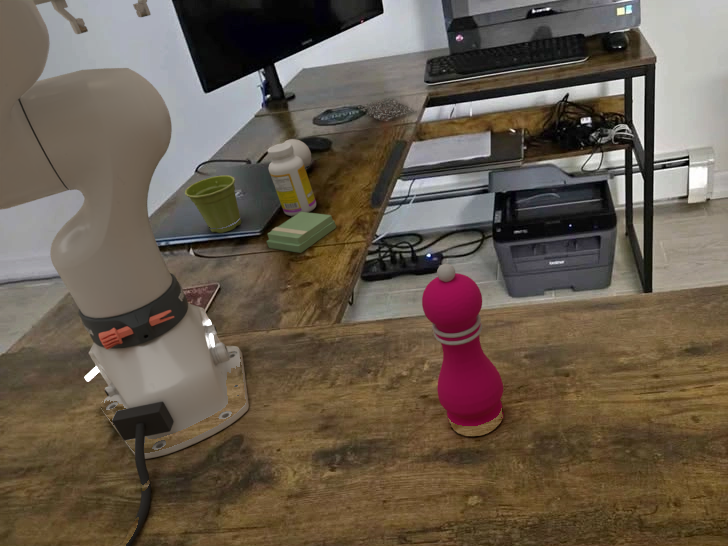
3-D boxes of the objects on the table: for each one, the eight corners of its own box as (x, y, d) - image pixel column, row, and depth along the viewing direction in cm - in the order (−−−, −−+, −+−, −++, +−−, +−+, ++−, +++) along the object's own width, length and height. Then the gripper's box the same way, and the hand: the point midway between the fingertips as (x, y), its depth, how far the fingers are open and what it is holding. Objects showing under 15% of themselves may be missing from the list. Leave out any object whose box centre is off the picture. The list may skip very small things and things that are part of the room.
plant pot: (252, 228, 131) (236, 185, 125) (203, 242, 129) (185, 200, 123) (247, 211, 138) (232, 171, 133) (201, 225, 136) (183, 184, 131)
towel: (301, 253, 118) (296, 239, 117) (268, 248, 122) (263, 234, 121) (336, 227, 125) (332, 214, 123) (305, 223, 129) (300, 210, 127)
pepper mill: (437, 411, 78) (399, 260, 67) (494, 390, 80) (466, 239, 68) (457, 450, 73) (419, 292, 61) (518, 426, 74) (493, 269, 62)
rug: (389, 99, 190) (388, 95, 190) (416, 112, 176) (415, 109, 175) (356, 108, 187) (355, 105, 187) (382, 123, 173) (381, 119, 172)
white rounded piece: (321, 169, 152) (312, 137, 147) (292, 181, 149) (281, 148, 144) (301, 161, 159) (291, 130, 154) (273, 172, 155) (262, 140, 151)
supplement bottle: (310, 199, 138) (290, 138, 130) (322, 208, 133) (302, 145, 126) (279, 211, 136) (257, 148, 128) (290, 220, 131) (268, 156, 123)
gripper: (-12, -73, 84) (46, 45, 93) (145, -101, 94) (185, 8, 102) (-22, -71, 88) (35, 42, 97) (130, -98, 98) (170, 6, 106)
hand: (114, 24), depth 100 cm, fingers open, 8 cm apart
